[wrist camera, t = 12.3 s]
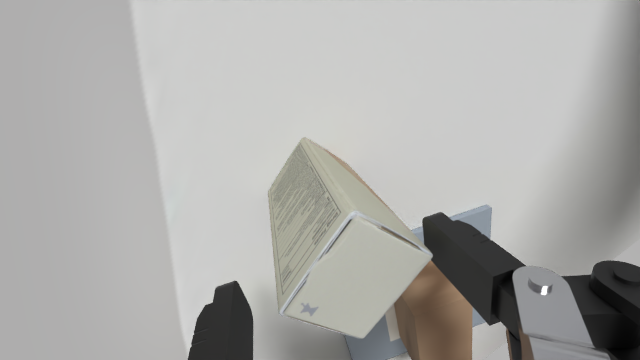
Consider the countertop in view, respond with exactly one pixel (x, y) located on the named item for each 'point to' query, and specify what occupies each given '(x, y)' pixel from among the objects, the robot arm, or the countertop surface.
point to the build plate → (385, 334)
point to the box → (337, 245)
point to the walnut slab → (434, 318)
